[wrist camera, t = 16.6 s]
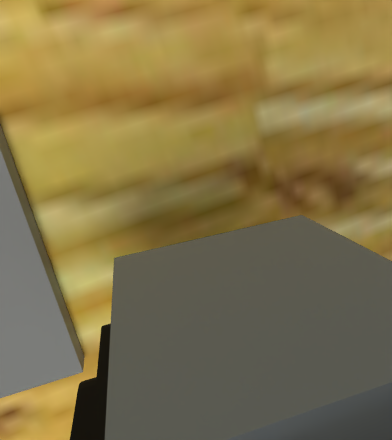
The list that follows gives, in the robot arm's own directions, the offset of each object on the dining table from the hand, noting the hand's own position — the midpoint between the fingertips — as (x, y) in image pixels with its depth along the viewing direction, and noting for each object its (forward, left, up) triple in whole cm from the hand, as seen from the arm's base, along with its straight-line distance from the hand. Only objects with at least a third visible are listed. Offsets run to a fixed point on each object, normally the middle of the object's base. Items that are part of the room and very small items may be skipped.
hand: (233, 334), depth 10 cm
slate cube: (0, 0, -1) cm, 1 cm away
